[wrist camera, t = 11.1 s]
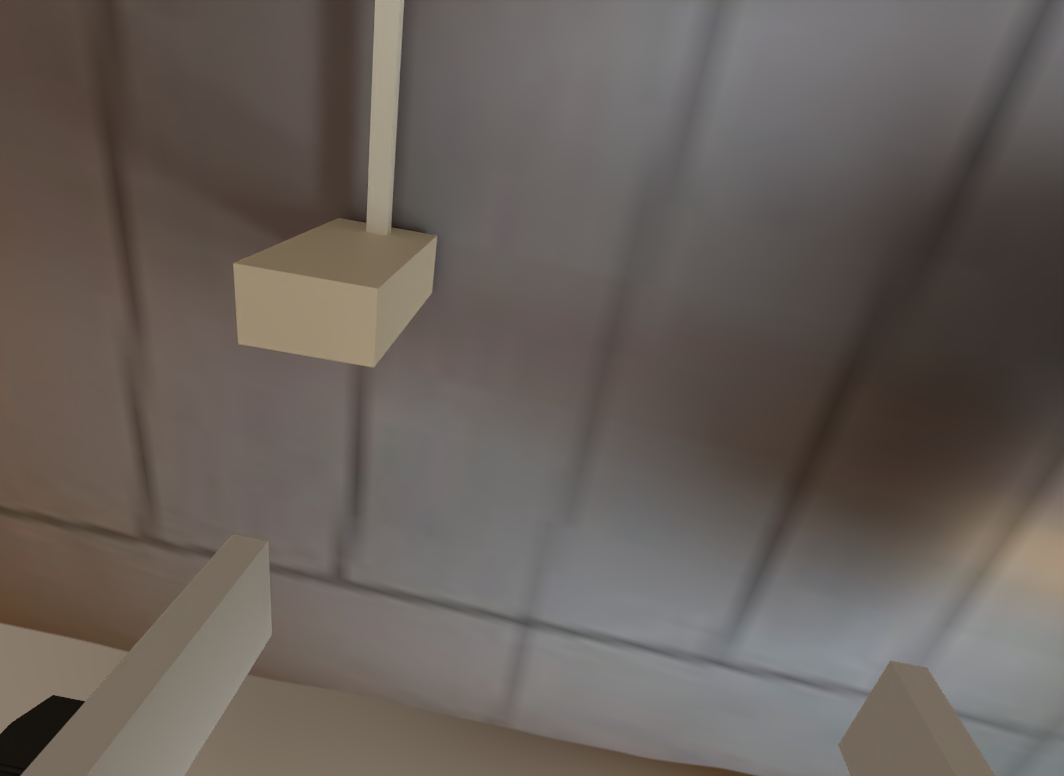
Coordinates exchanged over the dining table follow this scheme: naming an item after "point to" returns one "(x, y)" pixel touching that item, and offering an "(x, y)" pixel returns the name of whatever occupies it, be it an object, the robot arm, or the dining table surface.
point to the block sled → (345, 252)
